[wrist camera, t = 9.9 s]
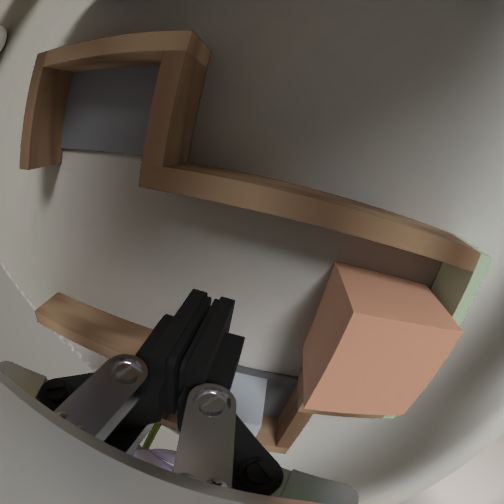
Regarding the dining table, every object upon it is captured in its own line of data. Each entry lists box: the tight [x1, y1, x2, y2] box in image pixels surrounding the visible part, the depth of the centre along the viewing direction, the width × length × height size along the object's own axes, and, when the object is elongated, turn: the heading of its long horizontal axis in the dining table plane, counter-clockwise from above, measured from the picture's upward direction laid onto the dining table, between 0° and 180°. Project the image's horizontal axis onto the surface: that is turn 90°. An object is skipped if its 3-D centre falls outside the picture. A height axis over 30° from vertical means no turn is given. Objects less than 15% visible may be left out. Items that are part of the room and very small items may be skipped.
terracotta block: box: [302, 261, 463, 415], centre depth 13 cm, size 6×6×5 cm
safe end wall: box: [383, 235, 492, 419], centre depth 13 cm, size 1×12×3 cm, turn 169°
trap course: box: [20, 30, 481, 454], centre depth 14 cm, size 25×24×3 cm
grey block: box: [230, 372, 267, 437], centre depth 16 cm, size 4×4×4 cm
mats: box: [61, 66, 298, 418], centre depth 15 cm, size 18×22×1 cm
